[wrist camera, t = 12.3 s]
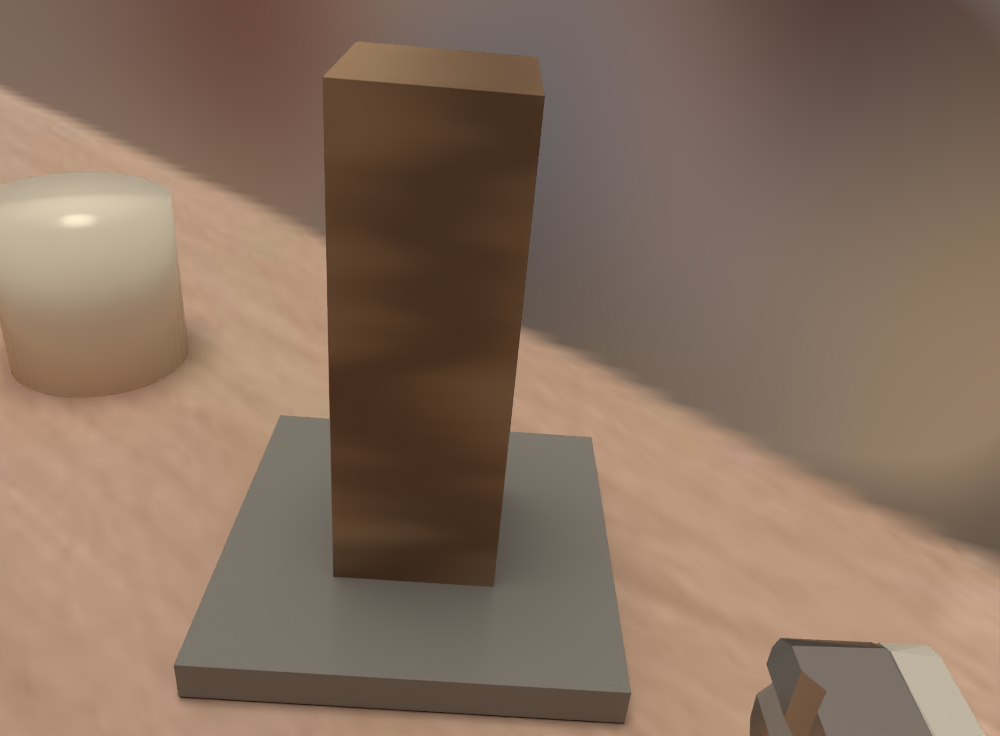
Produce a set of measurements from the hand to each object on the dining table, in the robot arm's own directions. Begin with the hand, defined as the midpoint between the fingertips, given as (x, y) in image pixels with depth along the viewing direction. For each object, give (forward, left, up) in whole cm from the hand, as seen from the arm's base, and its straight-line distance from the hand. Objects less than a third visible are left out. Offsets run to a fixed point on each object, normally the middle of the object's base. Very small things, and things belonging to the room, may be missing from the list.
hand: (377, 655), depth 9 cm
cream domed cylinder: (-23, +11, -9) cm, 27 cm away
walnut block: (-7, +10, -8) cm, 14 cm away
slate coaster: (-7, +10, -9) cm, 15 cm away
